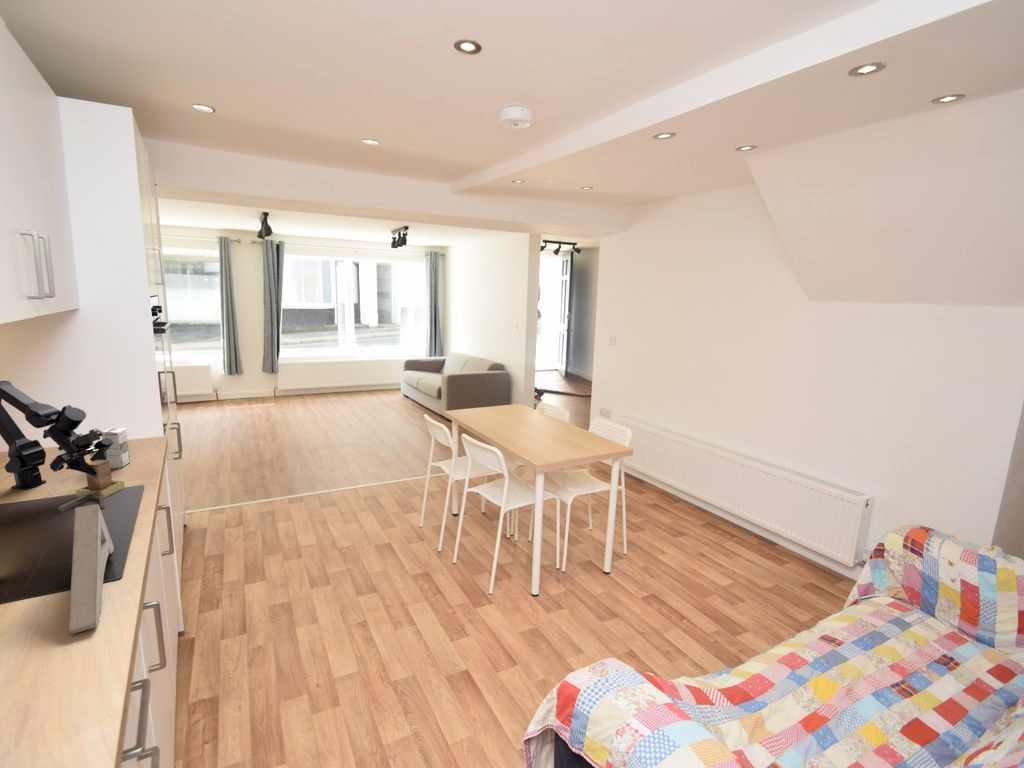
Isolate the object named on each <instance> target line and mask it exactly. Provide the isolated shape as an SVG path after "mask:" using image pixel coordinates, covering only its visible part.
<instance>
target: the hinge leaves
mask: <svg viewBox="0 0 1024 768" xmlns="http://www.w3.org/2000/svg"><path fill="white" fill-rule="evenodd" d="M125 486H126V485H125V480H116V479H115V480H113V479H112V485H111V486H109V487H107V488H105V489H103V490H88V484H86V485H84V486H81V487H80V488H78V489H76V490H75V493H76V498H75V499H73V500H70V501H68V502H66V503H64V504H61V505H59V506H58V507H57V510H58V511H60V512H59V513H62V511H63V512H65V511H67V510H69V509H71V508H73V507H75V506H76V507H77V505H79V504H81V503H83V502H86V501H88V500H90V499H97V500H98V501H99V507H100V508H101V509H104V508H106V501H105V498H107V497H109V496H111V495H113V494H115V493H118V492H119V491H121V490H123V489H125V488H126V487H125ZM66 509H67V510H66ZM58 511H57V512H58Z"/></svg>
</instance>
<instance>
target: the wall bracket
mask: <svg viewBox="0 0 1024 768" xmlns="http://www.w3.org/2000/svg"><path fill="white" fill-rule="evenodd" d="M101 509H102V508H101ZM101 509H100V503H95V504H90V505H83V506H76V507H75V508H74V521H73V539H72V540H73V541H72V542H73V543H72V558H71V561H72V562H71V563H72V564H71V580H70V597H69V598H70V599H69V600H70V603H69V620H68V622H69V623H68V632H69V633H68V634H69V635H74V634H77V633H82V632H85V631H88V630H92V628H93V629H96V628H98V624H99V621H100V620H99V617H100V616H101V613H100V611H101V612H102V608H101V607H102V605H103V603H102V602H103V587H104V578H105V577H104V576H105V571H106V566H107V562H108V558H109V555H111V554H114V553H113V552H114V550H115V548H114V547H115V546H114V543H113V541H112V538H111V535H110V533H109V529H108V526H107V524H106V521H105V518H104V515H103V513H102V512H103V511H102V510H101ZM100 618H101V617H100Z"/></svg>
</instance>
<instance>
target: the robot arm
mask: <svg viewBox="0 0 1024 768" xmlns="http://www.w3.org/2000/svg"><path fill="white" fill-rule="evenodd" d="M2 400H3V401H4V402H6V403H7V404H9V405H10V406H12V407H13V408H15V409H16V410H18V411H20V412H21V413H22V414H23V415H24V418H25V420H26V422H28V423H29V424H30V425H31V426H32V427H33V428H35V429H42V428H46V427H48V428H46V429H44V430H43V434H42V438H43V439H47V438H50V439H51V440H52V441H53V442H55V443H56V445H58V448H57V450H58V451H59V452H61V451H64V452H63V453H62V454H58V455H57V456H56V457H54V459H53V460H52V461H51V462H50V464H49V468H50V470H52V471H53V472H54V473H55V472H58V471H61V470H63V469H64V468H65V470H73V471H77V472H81V473H84V474H86V473H87V474H90V475H94V476H95V475H96V474H97V473H96V472H95V470H94V469H93V468H92V467H91V466H90V465H89V464H88V463H89V462H87V460H86V458H85V456H87V455H89V456H90V459H89V461H90V462H92V461H94V460H106V459H105V455H104V452H106V451H107V450H108V449H109V448H110V446H111V445H112V444H113V443H114V442H113V441H112V440H110V439H109V438H106V439H103V440H102V435H103V434H102V432H103V431H101V430H100V429H99V428H98V427H95V428H93V429H90V430H89V431H88V433H86V434H82V433H76V432H75V430H77V428H79V426H80V425H81V424H82V422H83V421H85V419H86V418H87V414H86V412H85V411H84V410H83V409H80V408H79V407H74V406H71V404H68V405H64V406H62V408H61V410H59V409H58V408H57V407H54V406H52V405H50V404H47V403H41V402H39V401H37V400H36V399H34V398H33V397H31V396H29V395H27V394H26V393H24V392H23V391H21V390H20V389H18V388H17V387H15V386H14V385H13V384H12V382H10V381H9V380H0V437H1V438H2V439H3V441H4V442H5V443H6V445H7V446H8V450H7V451H8V452H7V456H8V459H9V460H8V462H7V463H6V464H5V465H4V469H5V471H6V473H8V474H9V473H10V474H13V476H14V480H15V481H14V483H15V485H12V486H11V487H10V488H11V489H20V490H21V489H22V490H30V489H32V488H35V487H37V486H41V485H42V484H46V483H47V480H43V479H42V474H41V471H40V467H41V466H44V465H45V462H46V457H47V452H46V450H45V447H43V446H42V445H41V443H40V441H39V440H38V439H33V440H31V439H29V438H27V437H26V436H25V434H24V433H23V431H22V430H21V429H20V427H19V426H18V424H17V423H16V422H15V421H14V419H13V418H12V416H11V415H10V413H8V411H7V410H6V408H5V407H4V405H3V404H2ZM95 441H96V443H94V442H95ZM64 464H66V467H65V465H64Z"/></svg>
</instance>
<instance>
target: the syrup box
mask: <svg viewBox="0 0 1024 768" xmlns="http://www.w3.org/2000/svg"><path fill="white" fill-rule="evenodd" d="M127 431H128V430H127V428H126V427H112V428H108V429H107V430H104V431H101V432H102V434H103V435H102V436H101V440H103V439H106V438H109V439H110V440H112V441H113V442H114V443H113V444H112V445H111V446H110V448H109V449H108V450H107V451H106V452H104V455H105V459H106V460H109V464H110V469H122V468H124V467H126V466H127V465H129V464H130V463H131V458H130V449H129V441H128V440H129V439H128V432H127ZM128 463H129V464H128ZM125 465H126V466H125ZM121 467H122V468H121Z"/></svg>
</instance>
